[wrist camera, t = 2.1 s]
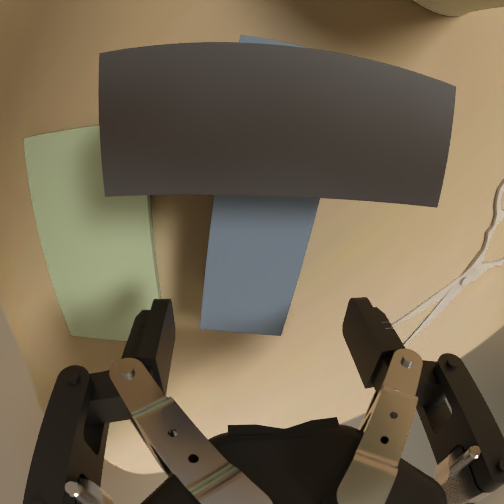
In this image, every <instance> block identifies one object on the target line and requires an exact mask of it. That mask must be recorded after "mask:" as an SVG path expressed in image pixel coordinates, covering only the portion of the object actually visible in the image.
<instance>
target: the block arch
mask: <svg viewBox="0 0 504 504" xmlns="http://www.w3.org/2000/svg"><path fill="white" fill-rule="evenodd" d="M455 93H456V86H453V85H450V84H448V83H445V82H442V81H440V80H437V79H434V78H431V77H428V76H425V75H422V74H419V73H416V72H413V71H410V70H407V69H403V68H400V67H396V66H393V65H389V64H385V63H381V62H377V61H373V60H369V59H365V58H360V57H356V56H351V55H346V54H341V53H335V52H329V51H323V50H317V49H310V48H302V47H294V46H284V45H273V44H259V43H236V42H202V43H179V44H165V45H154V46H145V47H137V48H129V49H123V50H116V51H110V52H105V53H100V58H99V129H100V148H101V162H102V173H103V183H104V192H105V197H112V196H141V195H259V196H290V197H312V198H331V199H347V200H361V201H374V202H387V203H398V204H409V205H419V206H428V207H437V206H438V202H439V198H440V193H441V189H442V184H443V179H444V174H445V169H446V163H447V158H448V152H449V145H450V139H451V131H452V124H453V115H454V105H455Z"/></svg>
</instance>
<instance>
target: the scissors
mask: <svg viewBox="0 0 504 504" xmlns="http://www.w3.org/2000/svg"><path fill="white" fill-rule="evenodd" d="M503 191H504V179H503V180H502V182H501V184H500V185H499V187H498V188H497V192H496V196H495V203H494V208H495V214H494V218H493V222H492V224H491V225H490V227H489V228H488V229H487V230H486V236H485V241H484V244H483V247H482V249H481V250H480V251H479V252H478V254H477V255H476V256H475V258H474V259H473V260H472V262H471V263H470V264H469V266H468V267H467V268H466V269H465V271H464V272H463V273H462V274H461V276H459V277H458V278H456V279H455V280H454V281H452V282H451V283H450V284H448V285H447V286H446V287H444V288H443V289H441V290H440V291H438V292H437V293H436V294H434V295H433V296H431V297H430V298H429V299H427V300H426V301H424V302H423V303H422V304H420V305H419V306H417V307H416V308H415V309H413V310H412V311H410V312H409V313H408V314H406V315H405V316H403V317H402V318H400V319H399V320H397V321H396V322H394V323H392V324H391V325H392V327H394V326H396V325H398V324H400V323H402V322H404V321H405V320H407V319H409V318H411V317H412V316H414V315H416V314H417V313H419V312H421V311H422V310H424V309H426V308H427V307H429V306H431V305H433V304H434V303H436V302H438V301H439V300H441V299H442V298H443V297H444V298H443V299H442V301H441V302H440V303H439V304H438V305H437V307H436V308H435V309H434V310H433V311H432V313H431V314H430V315H429V316H428V317H427V319H426V320H425V321H424V322H423V323H422V324H421V326H420V327H419V328H418V329H417V330H416V331H415V332H414V334H413V335H412V336H411V337H410V338H409V339H408V340H407V341H406V343H405V344H404V346H405V345H406V344H408V343H409V342H410V341H411V340H412V339H413V338H414V337H415V336H417V335H418V334H419V333H420V332H421V331H422V330H423V329H424V328H425V327H426V326H427V325H428V324H429V323H430V322H431V321H433V320H434V319H435V318H436V317H437V316H438V315H439V314H440V313H441V311H442V310H443V309H444V308H445V307H446V306H447V305H448V304H449V303H450V302H451V301H452V300H453V299H454V297H455V296H456V295H457V294H458V293H459V292H460V291H461V290H462V289H463V288H464V286H466V285H468V284H470V283H471V282H473V281H474V280H475V279H476V278H478V277H479V276H480V275H481V274H483V273H484V272H486V271H487V270H489V269H490V268H491V267H493V266H501V265H502V264H503V263H504V257H503V258H501V259H498V260H495V261H485V262H483V259H484V257H485V254H486V251H487V248H488V245H489V242H490V239H491V236H492V234H493V232H494V230H495V228H496V226H497V225H498V224H499V222H500V221H501V220H502V218H503V217H504V209H501V205H500V201H501V196H502V193H503Z"/></svg>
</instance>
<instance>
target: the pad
mask: <svg viewBox="0 0 504 504" xmlns="http://www.w3.org/2000/svg"><path fill="white" fill-rule="evenodd" d="M23 141H24V151H25V160H26V168H27V176H28V182H29V189H30V195H31V200H32V206H33V211H34V216H35V220H36V225H37V229H38V234H39V238H40V242H41V246H42V250H43V253H44V257H45V261H46V264H47V268H48V271H49V274H50V278H51V281H52V284H53V287H54V290H55V293H56V296H57V299H58V302H59V305H60V307H61V310H62V313H63V316H64V318H65V321H66V324H67V326H68V329H69V331H70V334H71V336H78V337H87V338H96V339H106V340H117V341H127V340H128V337H129V334H130V331H131V328H132V327H133V323H134V320H135V317H136V316H137V315H138V314H139V313H140V312H141V311H142V310H150V309H151V306H152V303H153V300H154V299H161V293H160V286H159V279H158V272H157V264H156V255H155V247H154V237H153V227H152V216H151V204H150V195H141V196H112V197H105V192H104V183H103V173H102V162H101V148H100V129H99V125H96V126H88V127H81V128H75V129H68V130H62V131H56V132H51V133H45V134H40V135H35V136H30V137H27V138H24V139H23Z"/></svg>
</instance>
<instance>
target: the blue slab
mask: <svg viewBox="0 0 504 504" xmlns="http://www.w3.org/2000/svg"><path fill="white" fill-rule="evenodd" d="M239 43H259V44H273V45H284V46H294V47H302V48H307V47H303V46H298V45H294V44H289V43H285V42H280V41H275V40H269V39H264V38H258V37H252V36H245V35H240V40H239ZM310 49H311V48H310ZM319 200H320V198H312V197H290V196H259V195H214V202H213V210H212V218H211V226H210V234H209V243H208V251H207V260H206V270H205V279H204V289H203V299H202V310H201V321H200V329H207V330H217V331H227V332H237V333H249V334H262V335H276V336H281V334H282V331H283V327H284V324H285V321H286V318H287V314H288V311H289V308H290V305H291V301H292V298H293V294H294V291H295V288H296V284H297V281H298V277H299V274H300V270H301V267H302V263H303V260H304V256H305V252H306V249H307V245H308V242H309V238H310V234H311V230H312V227H313V223H314V219H315V215H316V211H317V207H318V204H319Z"/></svg>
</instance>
